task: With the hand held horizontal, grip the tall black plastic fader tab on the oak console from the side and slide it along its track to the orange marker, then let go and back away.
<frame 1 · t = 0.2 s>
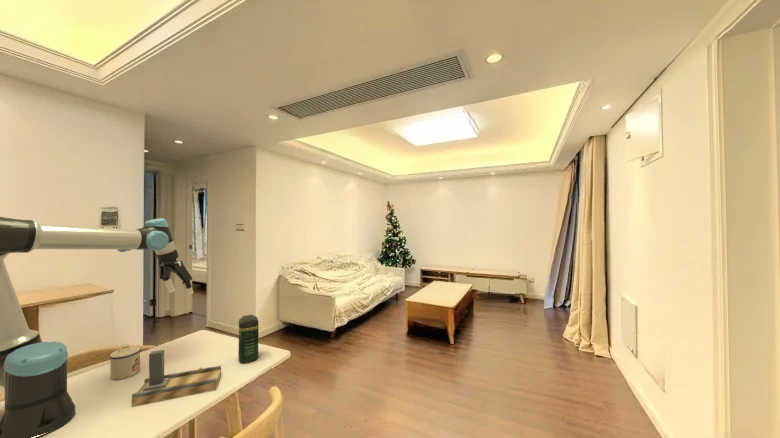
hand: (181, 293, 133), 27 cm above the table, tool tilted 15°, fingers open, 13 cm apart
fader console: (180, 389, 102), on the table
teacup with lid: (126, 372, 114), on the table
coffee jar: (248, 358, 125), on the table
fader tab: (156, 368, 100), point 9 cm above the table, slide at -7.0 cm
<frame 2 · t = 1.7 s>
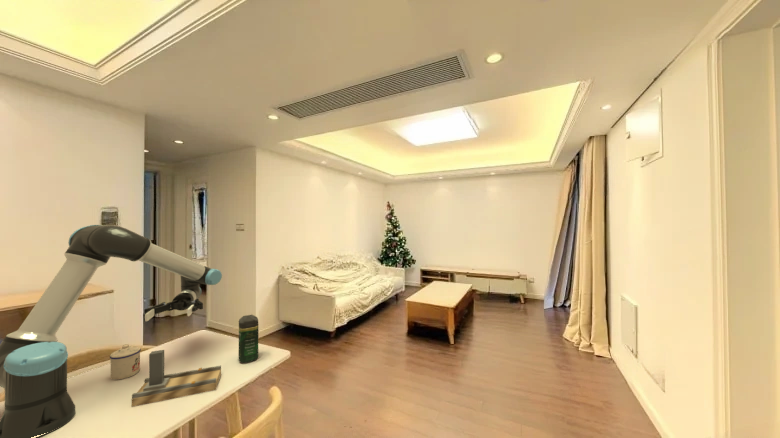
hand: (167, 315, 110), 24 cm above the table, tool horizontal, fingers open, 13 cm apart
nothing on the table moved.
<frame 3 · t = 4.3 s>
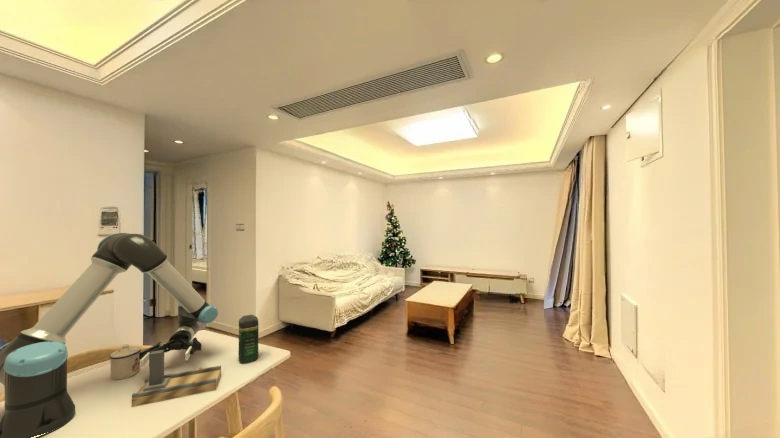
hand: (164, 360, 105), 9 cm above the table, tool horizontal, fingers open, 13 cm apart
nothing on the table moved.
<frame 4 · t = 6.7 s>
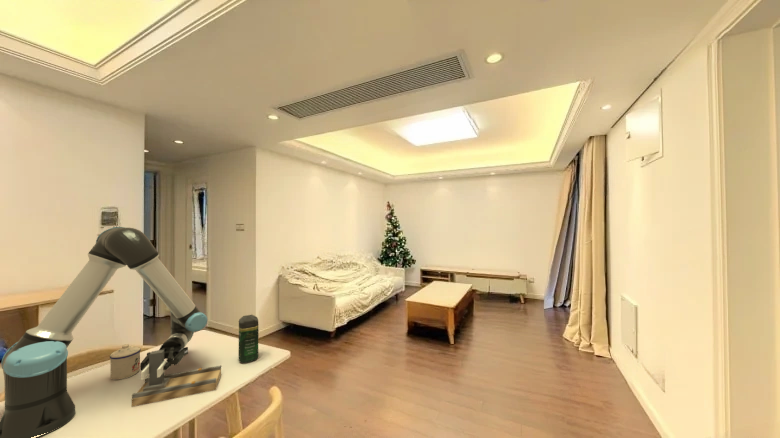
hand: (150, 374, 95), 9 cm above the table, tool horizontal, fingers closed on fader tab, 4 cm apart
fader tab: (156, 368, 100), point 9 cm above the table, slide at -7.0 cm, touching gripper
everything else where it was.
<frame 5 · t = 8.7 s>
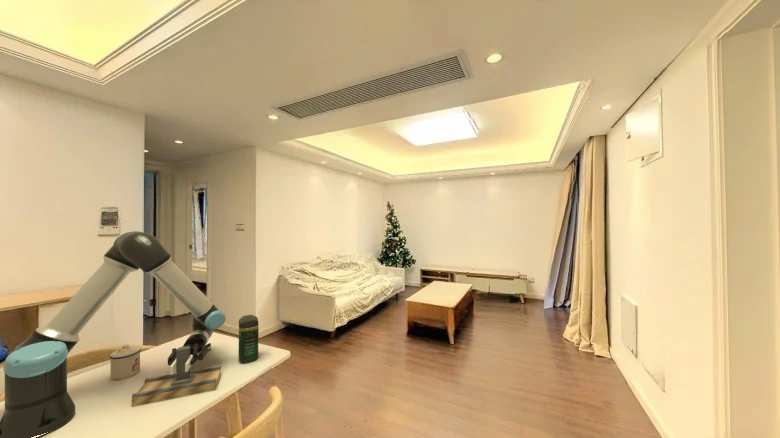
hand: (178, 369, 98), 10 cm above the table, tool horizontal, fingers closed on fader tab, 4 cm apart
fader tab: (183, 364, 103), point 9 cm above the table, slide at 0.9 cm, touching gripper
everything else where it was.
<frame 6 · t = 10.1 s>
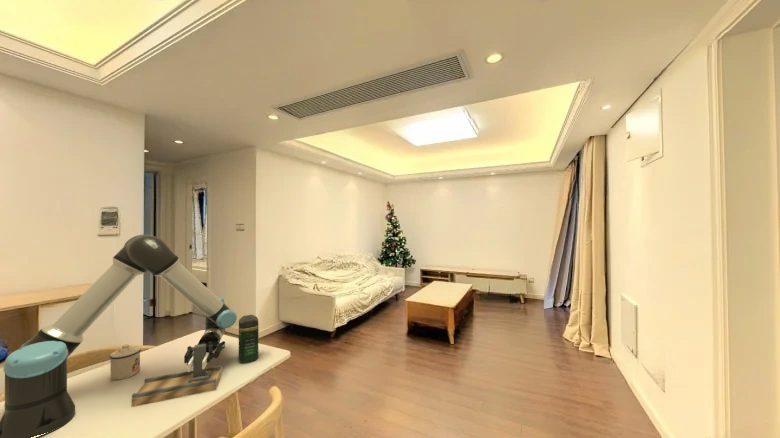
hand: (196, 366, 100), 10 cm above the table, tool horizontal, fingers closed on fader tab, 4 cm apart
fader tab: (199, 361, 105), point 9 cm above the table, slide at 6.0 cm, touching gripper
everything else where it was.
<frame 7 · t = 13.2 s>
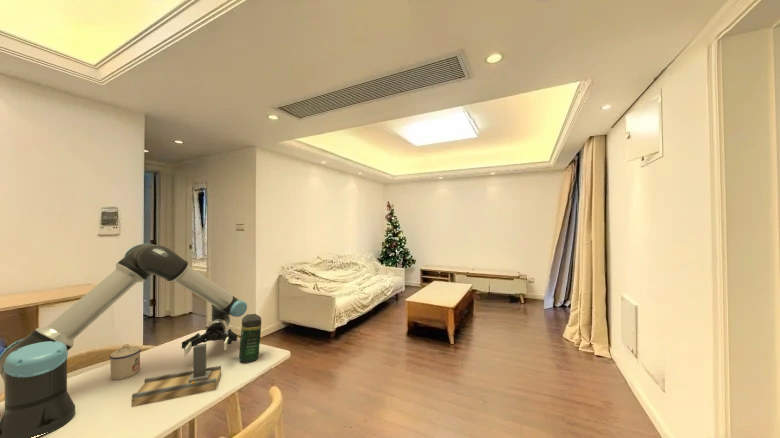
hand: (205, 349, 113), 10 cm above the table, tool horizontal, fingers open, 13 cm apart
fader tab: (199, 361, 105), point 9 cm above the table, slide at 6.0 cm
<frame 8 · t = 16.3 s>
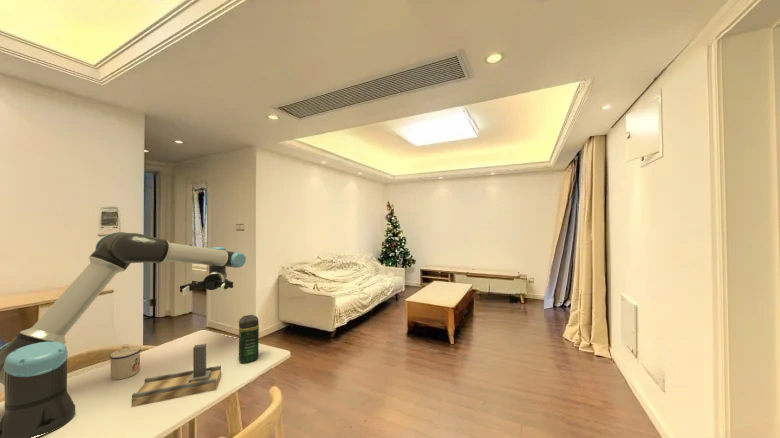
hand: (203, 291, 118), 32 cm above the table, tool horizontal, fingers open, 13 cm apart
at the end: fader tab slide at 6.0 cm; the gripper is holding nothing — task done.
